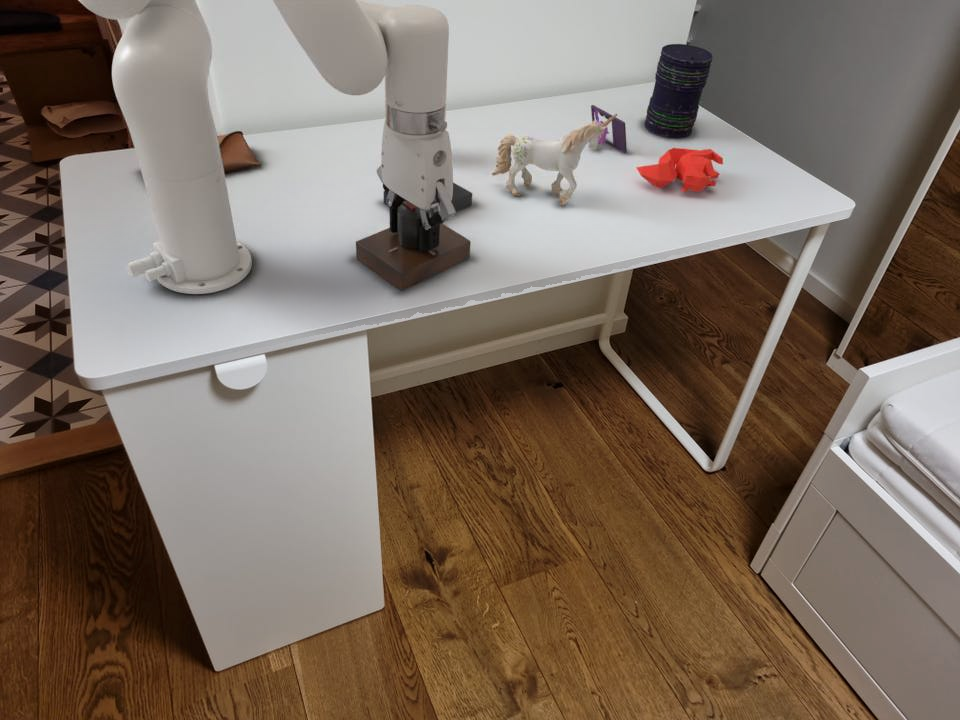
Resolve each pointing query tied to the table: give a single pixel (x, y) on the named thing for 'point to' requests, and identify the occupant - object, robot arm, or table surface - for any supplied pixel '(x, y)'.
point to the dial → (409, 225)
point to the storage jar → (677, 90)
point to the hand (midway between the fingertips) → (414, 238)
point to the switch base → (453, 198)
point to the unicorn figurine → (548, 157)
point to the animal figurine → (683, 169)
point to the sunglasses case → (235, 152)
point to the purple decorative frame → (617, 130)
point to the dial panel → (411, 257)
